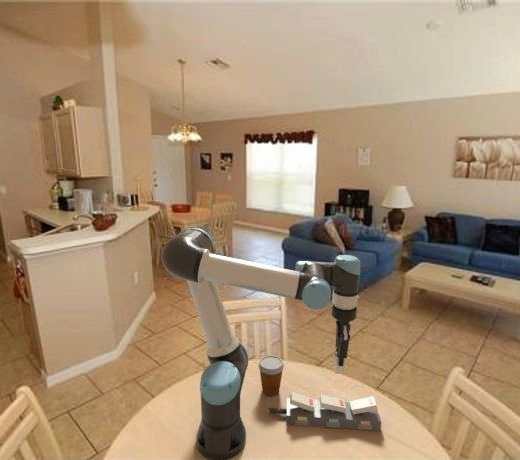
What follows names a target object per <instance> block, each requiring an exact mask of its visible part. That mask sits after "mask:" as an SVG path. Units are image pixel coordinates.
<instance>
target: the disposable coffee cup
mask: <svg viewBox="0 0 520 460" xmlns="http://www.w3.org/2000/svg"><path fill="white" fill-rule="evenodd" d="M257 365H258V369H259V375H260V382H261V387H262V388H261V392H262V394H264V396H266V397H275V396H277V395H278V394H279V393H280V388H281V382H282V375H283V371H284V368H285V363H284V361H283V359H282V358H281V357H280V356H277V355H265V356H263V357H261V358H260V360H259V362H258V364H257Z"/></svg>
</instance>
